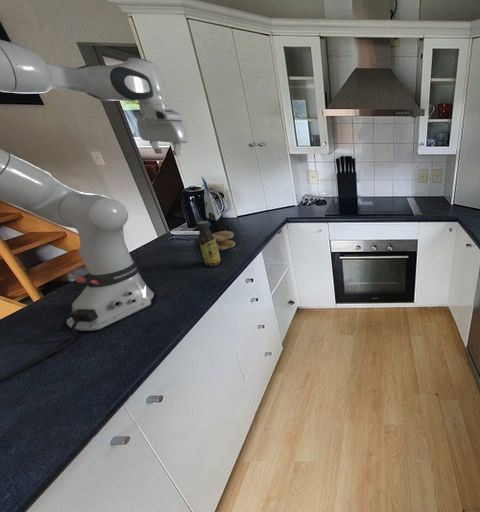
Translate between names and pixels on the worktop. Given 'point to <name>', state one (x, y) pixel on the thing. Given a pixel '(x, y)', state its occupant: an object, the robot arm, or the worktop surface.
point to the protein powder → (213, 212)
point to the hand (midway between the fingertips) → (168, 154)
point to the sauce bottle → (208, 245)
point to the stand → (224, 239)
